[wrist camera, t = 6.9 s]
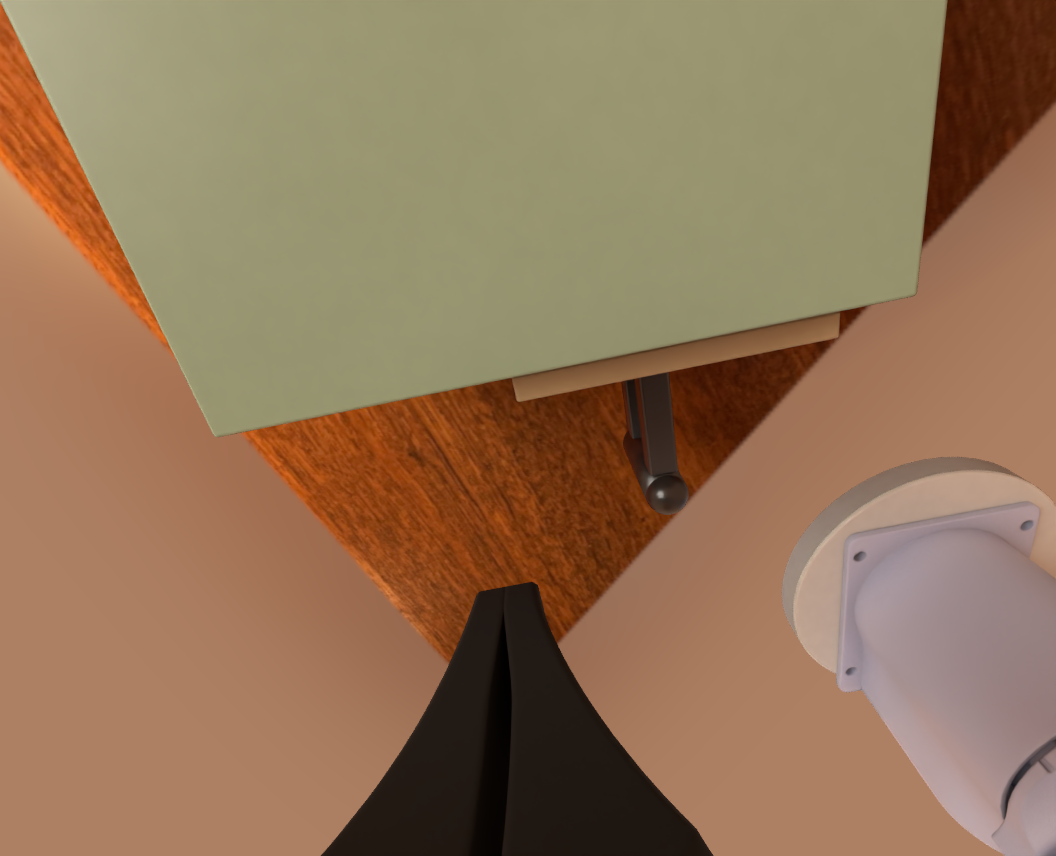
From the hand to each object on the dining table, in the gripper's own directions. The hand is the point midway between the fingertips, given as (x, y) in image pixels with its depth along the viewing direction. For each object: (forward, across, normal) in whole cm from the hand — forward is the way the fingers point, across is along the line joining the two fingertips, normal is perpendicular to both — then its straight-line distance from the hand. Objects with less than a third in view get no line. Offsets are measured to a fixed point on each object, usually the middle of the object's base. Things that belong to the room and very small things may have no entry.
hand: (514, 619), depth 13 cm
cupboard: (+9, -2, -10) cm, 14 cm away
